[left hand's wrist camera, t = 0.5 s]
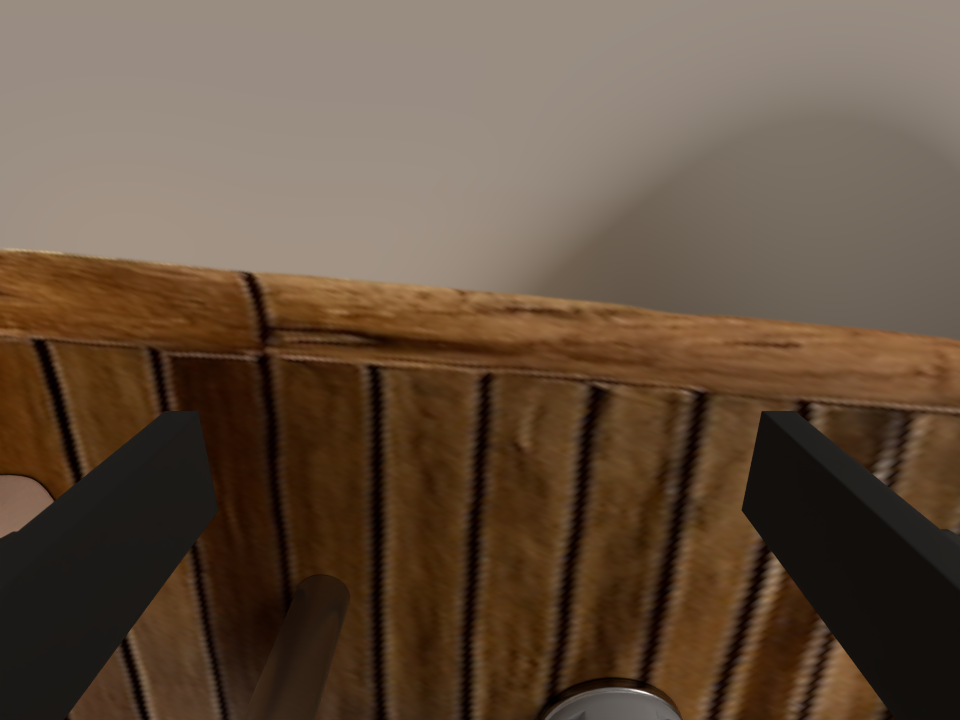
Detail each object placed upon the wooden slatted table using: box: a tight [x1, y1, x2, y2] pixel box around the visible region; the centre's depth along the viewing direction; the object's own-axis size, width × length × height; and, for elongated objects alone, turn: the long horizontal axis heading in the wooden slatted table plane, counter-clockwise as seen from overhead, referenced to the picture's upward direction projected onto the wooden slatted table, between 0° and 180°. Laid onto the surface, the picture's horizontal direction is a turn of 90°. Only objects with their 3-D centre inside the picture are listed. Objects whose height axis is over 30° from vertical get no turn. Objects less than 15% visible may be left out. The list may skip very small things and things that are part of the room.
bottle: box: [242, 575, 350, 720], centre depth 40 cm, size 5×5×21 cm
